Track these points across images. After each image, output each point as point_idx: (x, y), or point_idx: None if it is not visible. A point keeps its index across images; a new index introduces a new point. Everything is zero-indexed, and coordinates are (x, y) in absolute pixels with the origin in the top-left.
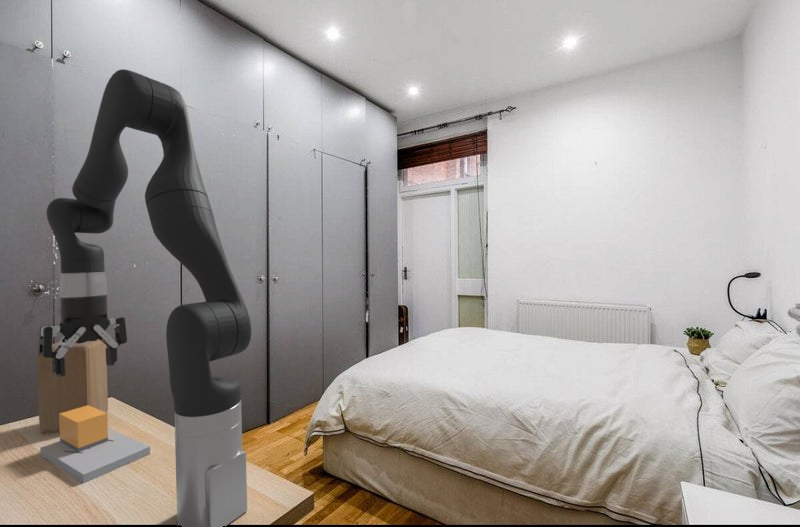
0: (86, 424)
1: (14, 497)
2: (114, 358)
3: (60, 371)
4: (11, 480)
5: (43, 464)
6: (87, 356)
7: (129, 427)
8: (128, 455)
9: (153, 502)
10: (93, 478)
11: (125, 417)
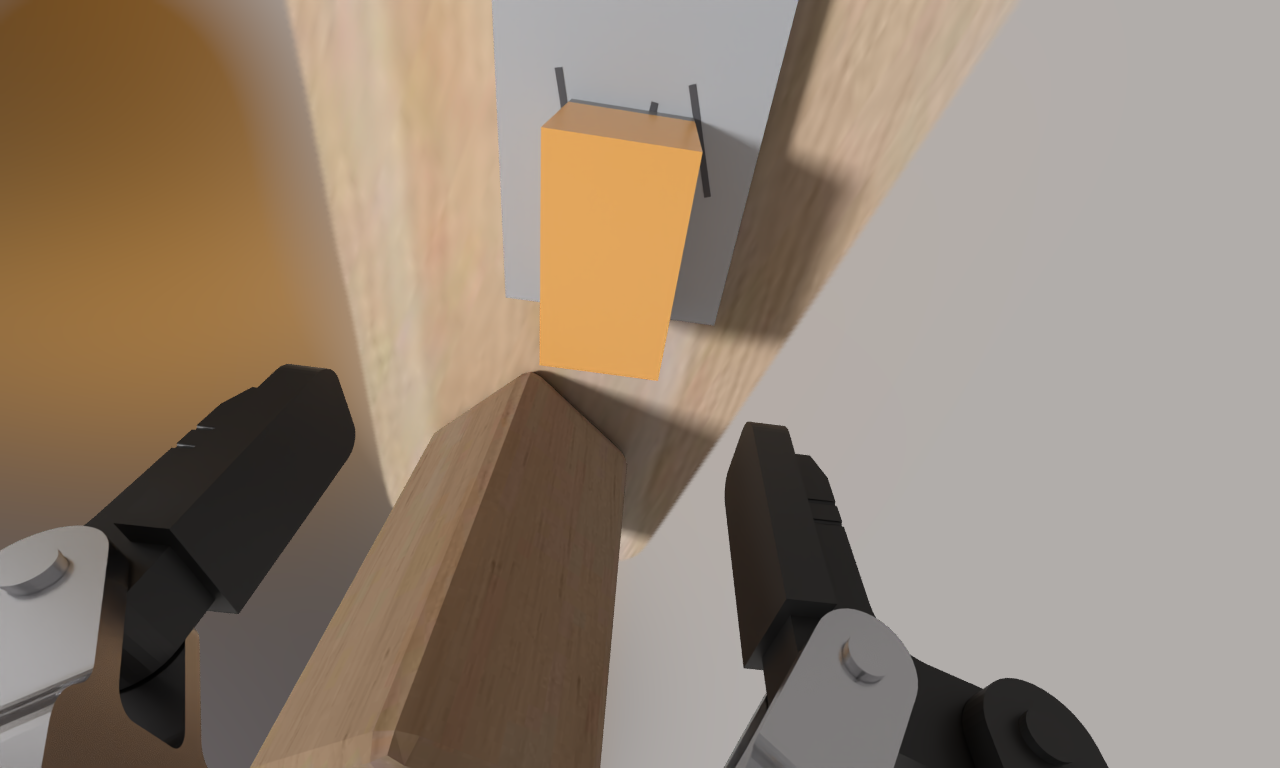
0: (656, 139)
1: (987, 7)
2: (238, 420)
3: (795, 462)
4: (869, 198)
5: (757, 220)
6: (408, 669)
7: (431, 228)
8: None
9: None
10: None
11: (407, 341)
